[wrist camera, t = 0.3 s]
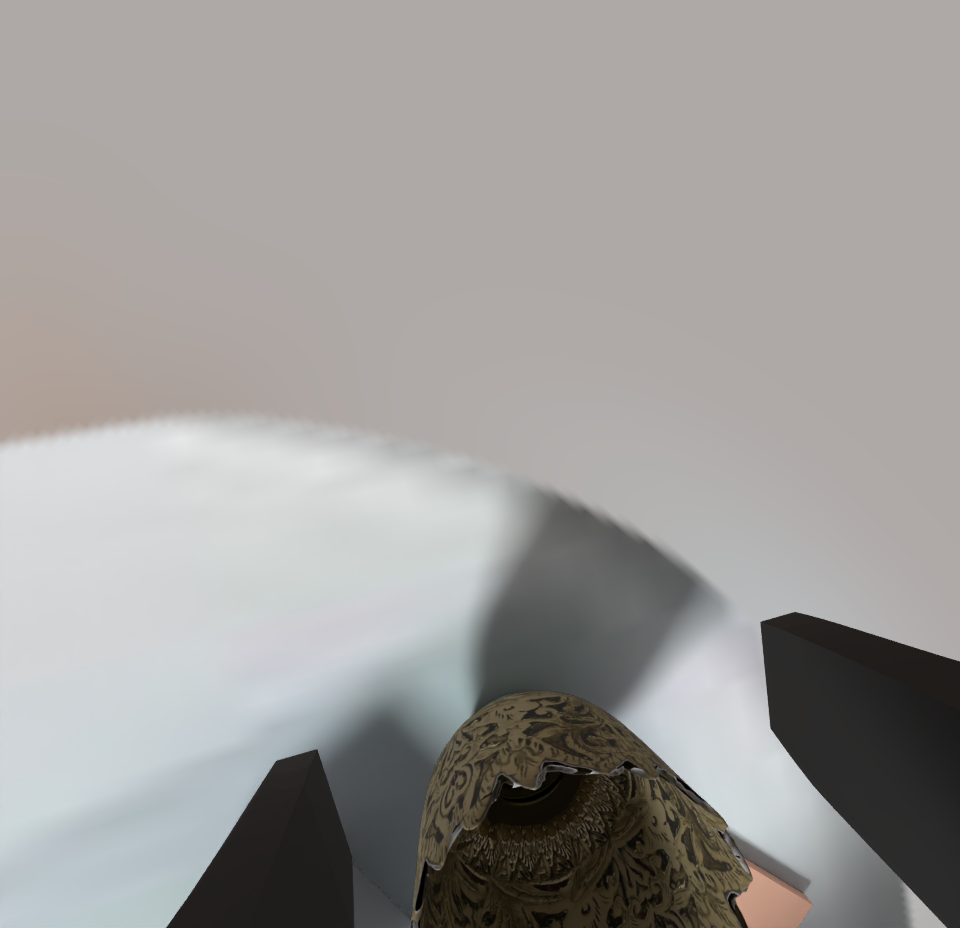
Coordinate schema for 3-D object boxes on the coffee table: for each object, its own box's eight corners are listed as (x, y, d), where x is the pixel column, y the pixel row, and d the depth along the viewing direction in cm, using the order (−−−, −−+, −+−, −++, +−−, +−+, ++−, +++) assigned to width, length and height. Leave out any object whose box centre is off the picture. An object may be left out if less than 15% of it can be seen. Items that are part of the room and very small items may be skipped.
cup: (663, 713, 21) (824, 897, 13) (527, 879, 21) (608, 1165, 13) (501, 584, 20) (572, 704, 12) (355, 761, 20) (331, 999, 12)
